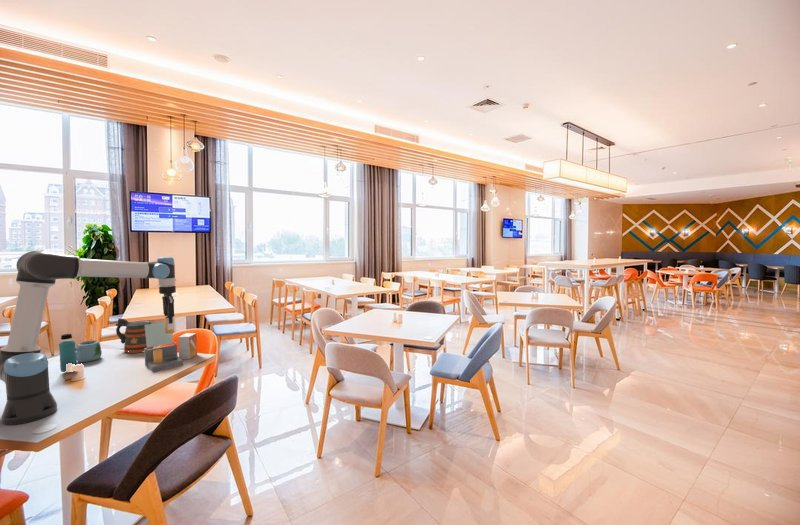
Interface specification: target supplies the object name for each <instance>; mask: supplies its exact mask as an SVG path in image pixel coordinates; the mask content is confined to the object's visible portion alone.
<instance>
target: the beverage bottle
mask: <svg viewBox="0 0 800 525" xmlns="http://www.w3.org/2000/svg"><path fill="white" fill-rule="evenodd" d="M72 338H73V335H72V334H71V333H65V334H61V336H60V339H61V341H60V342H59V344H58V352H59V365H60V372H62V373H66V372H65V371H66V364H68V363H72V364H75V365H76V364H77V365H78V361H77V360H76V357H77V356H76V348H77V346H76V341H75V340H74V339H72Z"/></svg>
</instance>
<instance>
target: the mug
mask: <svg viewBox="0 0 800 525" xmlns="http://www.w3.org/2000/svg"><path fill="white" fill-rule="evenodd" d="M101 346H102V345H101V342H100V341H99V340H87V341H82V342H79V343H78V344H76V356H77V357H76V360H77V362H80V363H88V362H93V361H97V360H99V359H100V358H101V357H102V354H103V353H102V348H101Z"/></svg>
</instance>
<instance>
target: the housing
mask: <svg viewBox="0 0 800 525" xmlns="http://www.w3.org/2000/svg"><path fill="white" fill-rule="evenodd" d="M143 353H144V365H145V366H146V367H147V368H148V369H149V370H150V372H157V371H162V370H166V369H169V368H175V367H178V366H183V364H184V362H183V361H184V359H181V358H179V355H178V343H177V342H174V343H173V344H168V345H163V346H158V347H153V349H148V350H147V348H144V352H143Z"/></svg>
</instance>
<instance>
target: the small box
mask: <svg viewBox="0 0 800 525" xmlns="http://www.w3.org/2000/svg"><path fill="white" fill-rule="evenodd" d="M197 338H198V337H197V333H195V332H186V333H184V334H181V335H180V336H178V337H177V340H178V341H177V342H178V343H177V345H178V357H179V358H181V359H182V360H190V359H192V358H194V357H195V356H197V355H198V341H197V340H198V339H197ZM196 354H197V355H196Z"/></svg>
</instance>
